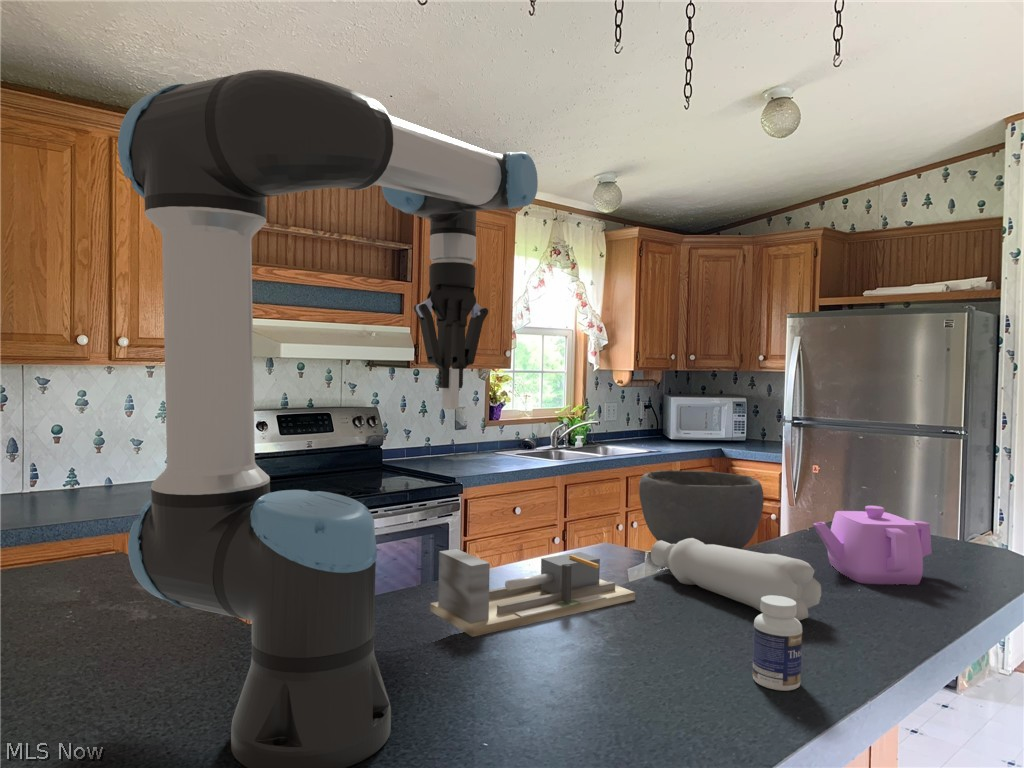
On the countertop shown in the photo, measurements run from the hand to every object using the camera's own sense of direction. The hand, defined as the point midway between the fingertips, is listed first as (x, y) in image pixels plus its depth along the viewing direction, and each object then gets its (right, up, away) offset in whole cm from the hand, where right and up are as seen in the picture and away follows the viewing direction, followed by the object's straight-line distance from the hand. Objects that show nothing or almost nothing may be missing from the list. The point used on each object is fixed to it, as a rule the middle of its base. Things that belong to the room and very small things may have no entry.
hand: (450, 408), depth 121 cm
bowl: (+48, -30, +28) cm, 63 cm away
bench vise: (+14, -30, -8) cm, 34 cm away
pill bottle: (+41, -31, -33) cm, 62 cm away
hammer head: (+18, -28, -11) cm, 35 cm away
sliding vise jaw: (+17, -28, -8) cm, 34 cm away
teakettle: (+75, -31, +14) cm, 83 cm away
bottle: (+45, -31, -1) cm, 54 cm away
